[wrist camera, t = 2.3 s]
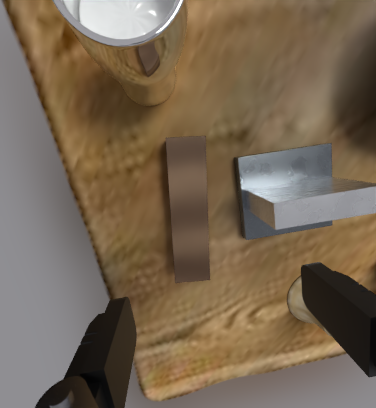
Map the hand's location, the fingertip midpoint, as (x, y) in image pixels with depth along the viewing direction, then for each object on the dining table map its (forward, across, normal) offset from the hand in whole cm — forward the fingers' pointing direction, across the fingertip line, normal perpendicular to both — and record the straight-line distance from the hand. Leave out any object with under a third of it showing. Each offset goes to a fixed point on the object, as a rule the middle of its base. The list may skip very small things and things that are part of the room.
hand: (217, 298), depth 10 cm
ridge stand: (+18, -12, 0) cm, 22 cm away
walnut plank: (+18, 0, 0) cm, 19 cm away
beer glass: (+18, +2, -15) cm, 24 cm away
